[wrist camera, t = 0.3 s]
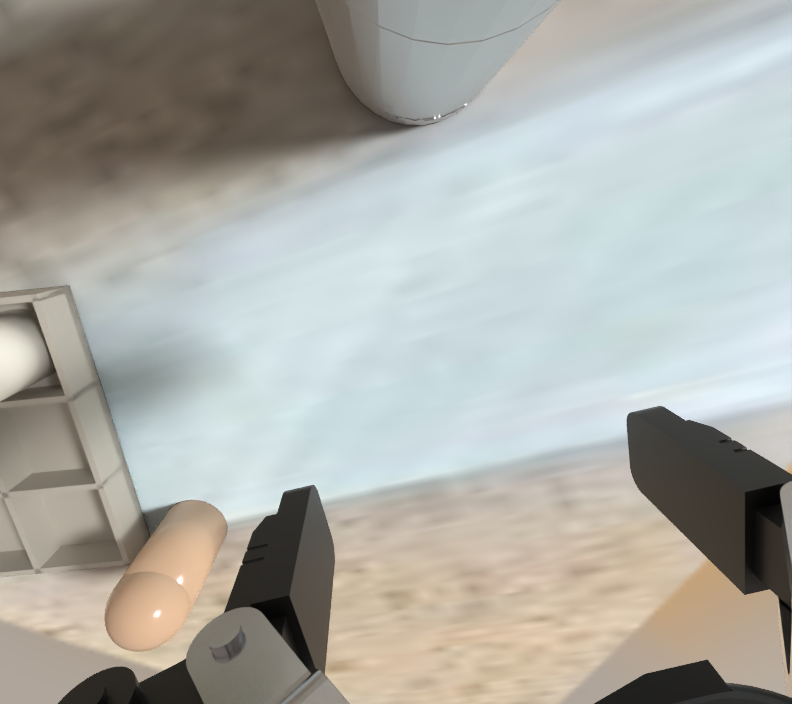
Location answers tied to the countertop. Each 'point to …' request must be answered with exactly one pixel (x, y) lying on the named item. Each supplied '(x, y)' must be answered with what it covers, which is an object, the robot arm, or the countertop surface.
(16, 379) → the cream egg
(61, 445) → the carton
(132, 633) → the tan rounded cylinder
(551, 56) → the countertop surface
